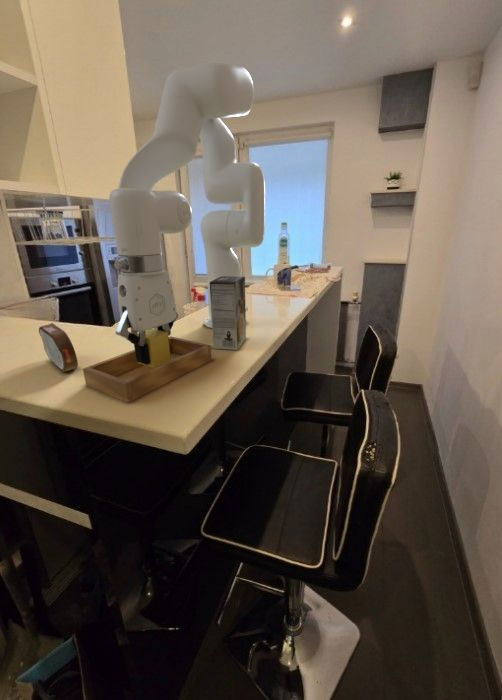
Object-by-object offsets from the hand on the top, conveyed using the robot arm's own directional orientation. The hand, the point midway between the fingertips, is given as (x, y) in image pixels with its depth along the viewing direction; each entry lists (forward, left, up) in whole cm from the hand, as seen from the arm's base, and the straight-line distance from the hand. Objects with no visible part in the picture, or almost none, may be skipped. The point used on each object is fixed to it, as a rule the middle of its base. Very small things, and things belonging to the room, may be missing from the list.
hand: (154, 357), depth 65 cm
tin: (+9, -19, -3) cm, 21 cm away
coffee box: (-22, +3, -3) cm, 22 cm away
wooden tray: (0, 0, -3) cm, 3 cm away
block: (0, 0, -1) cm, 1 cm away
